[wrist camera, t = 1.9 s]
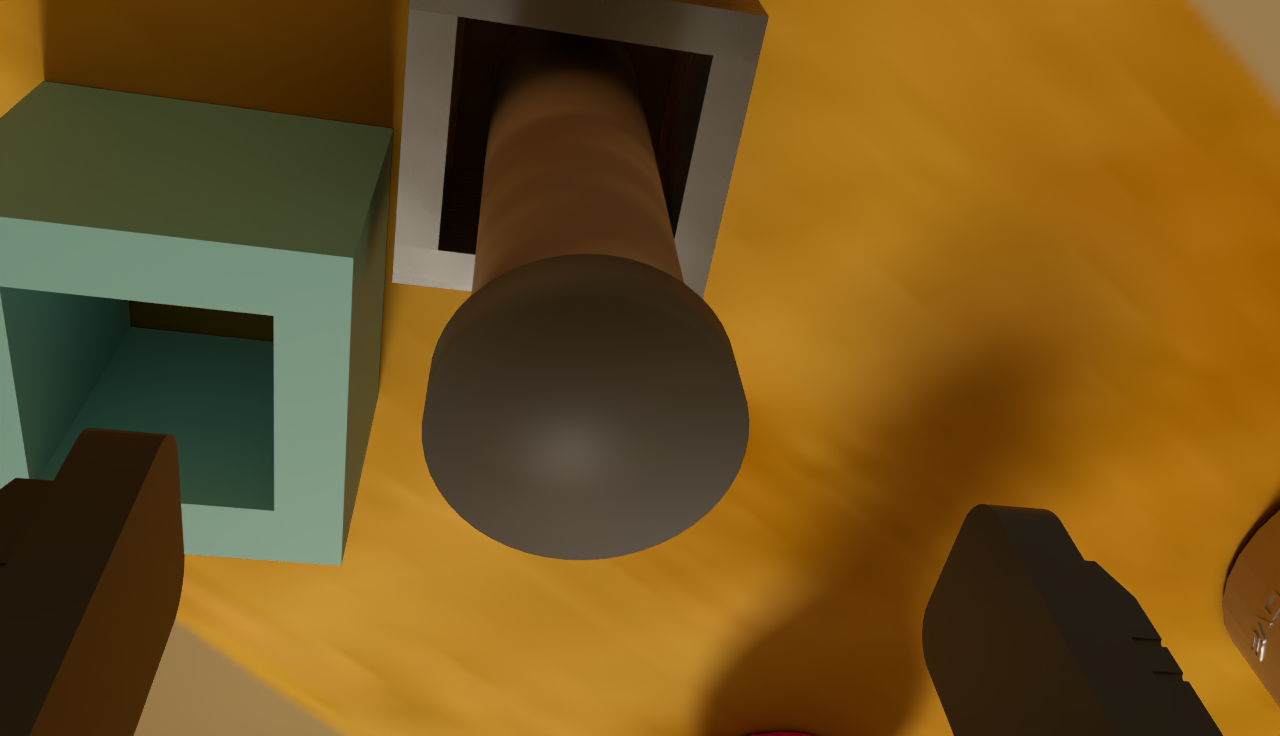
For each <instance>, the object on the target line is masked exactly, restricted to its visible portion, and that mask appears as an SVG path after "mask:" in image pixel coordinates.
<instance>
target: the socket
mask: <svg viewBox="0 0 1280 736" xmlns="http://www.w3.org/2000/svg"><path fill="white" fill-rule="evenodd" d="M392 142H393V129H392V128H385V127H378V126H370V125H363V124H356V123H348V122H341V121H333V120H326V119H319V118H311V117H304V116H297V115H289V114H282V113H275V112H267V111H260V110H252V109H245V108H238V107H230V106H223V105H216V104H208V103H201V102H194V101H186V100H179V99H171V98H164V97H157V96H149V95H142V94H135V93H127V92H120V91H113V90H105V89H98V88H90V87H83V86H76V85H68V84H61V83H54V82H46V81H43V82H42V83H40V84H39V85H38V86H37V87H36V88H35V89H34V90H32V91H31V92H30V93H29V94H28V95H27V96H25V97H24V98H23V99H22V100H21V101H20V102H18V103H17V104H16V105H15V106H14V107H13V108H11V109H10V110H9V111H8V112H7V113H6V114H5V115H3V116H2V117H1V118H0V489H1V488H2V487H4V486H5V485H6V484H8V483H9V482H10V481H12V480H13V479H14V478H26V479H40V480H54V479H55V477H56V475H57V473H58V471H59V470H60V468H61V466H62V464H63V463H64V461H65V459H66V457H67V455H68V454H69V452H70V450H71V448H72V446H73V445H74V443H75V441H76V439H77V438H78V436H79V435H80V433H81V432H82V431H83V430H84V429H86V428H102V429H114V430H126V431H138V432H150V433H162V434H171V435H173V436H174V438H175V440H176V444H177V449H178V461H179V477H180V493H181V509H182V525H183V541H184V554H189V555H203V556H217V557H230V558H244V559H257V560H271V561H284V562H298V563H312V564H325V565H339V566H341V565H342V560H343V555H344V551H345V546H346V542H347V537H348V532H349V528H350V523H351V519H352V514H353V509H354V505H355V500H356V496H357V491H358V486H359V482H360V477H361V473H362V468H363V463H364V459H365V454H366V450H367V445H368V440H369V436H370V431H371V427H372V422H373V418H374V413H375V408H376V404H377V399H378V388H379V370H380V353H381V335H382V317H383V300H384V282H385V265H386V247H387V230H388V212H389V195H390V177H391V160H392ZM129 300H131V301H140V302H150V303H159V304H168V305H177V306H187V307H196V308H205V309H215V310H224V311H233V312H242V313H252V314H261V315H270V316H274V342H272V341H262V340H253V339H243V338H233V337H224V336H214V335H204V334H195V333H185V332H176V331H166V330H156V329H147V328H137V327H131V323H130V311H129Z"/></svg>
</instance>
